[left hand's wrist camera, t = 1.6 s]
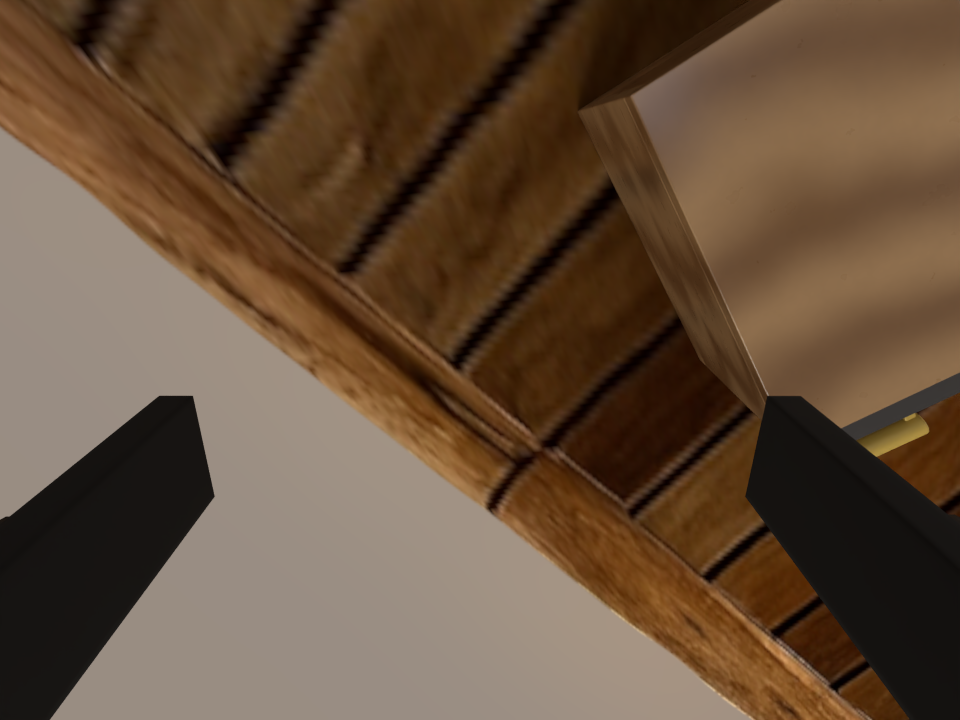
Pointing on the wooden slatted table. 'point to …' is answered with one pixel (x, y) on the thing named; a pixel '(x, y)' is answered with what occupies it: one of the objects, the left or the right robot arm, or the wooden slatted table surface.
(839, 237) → the cabinet
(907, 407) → the drawer
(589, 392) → the wooden slatted table surface
